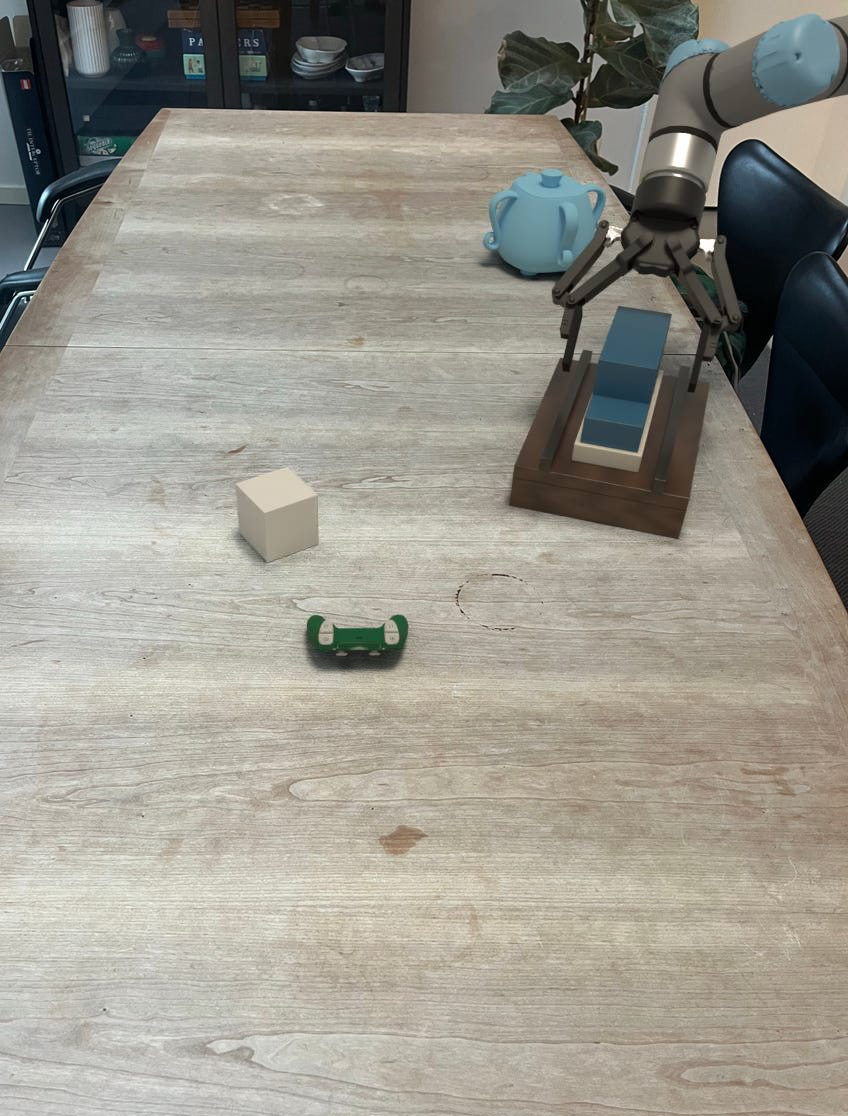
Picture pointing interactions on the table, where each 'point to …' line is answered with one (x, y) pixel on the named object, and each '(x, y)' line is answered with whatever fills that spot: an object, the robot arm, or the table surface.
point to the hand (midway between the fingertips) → (627, 378)
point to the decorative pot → (543, 221)
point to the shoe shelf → (605, 491)
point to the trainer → (624, 391)
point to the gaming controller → (357, 636)
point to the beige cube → (277, 514)
